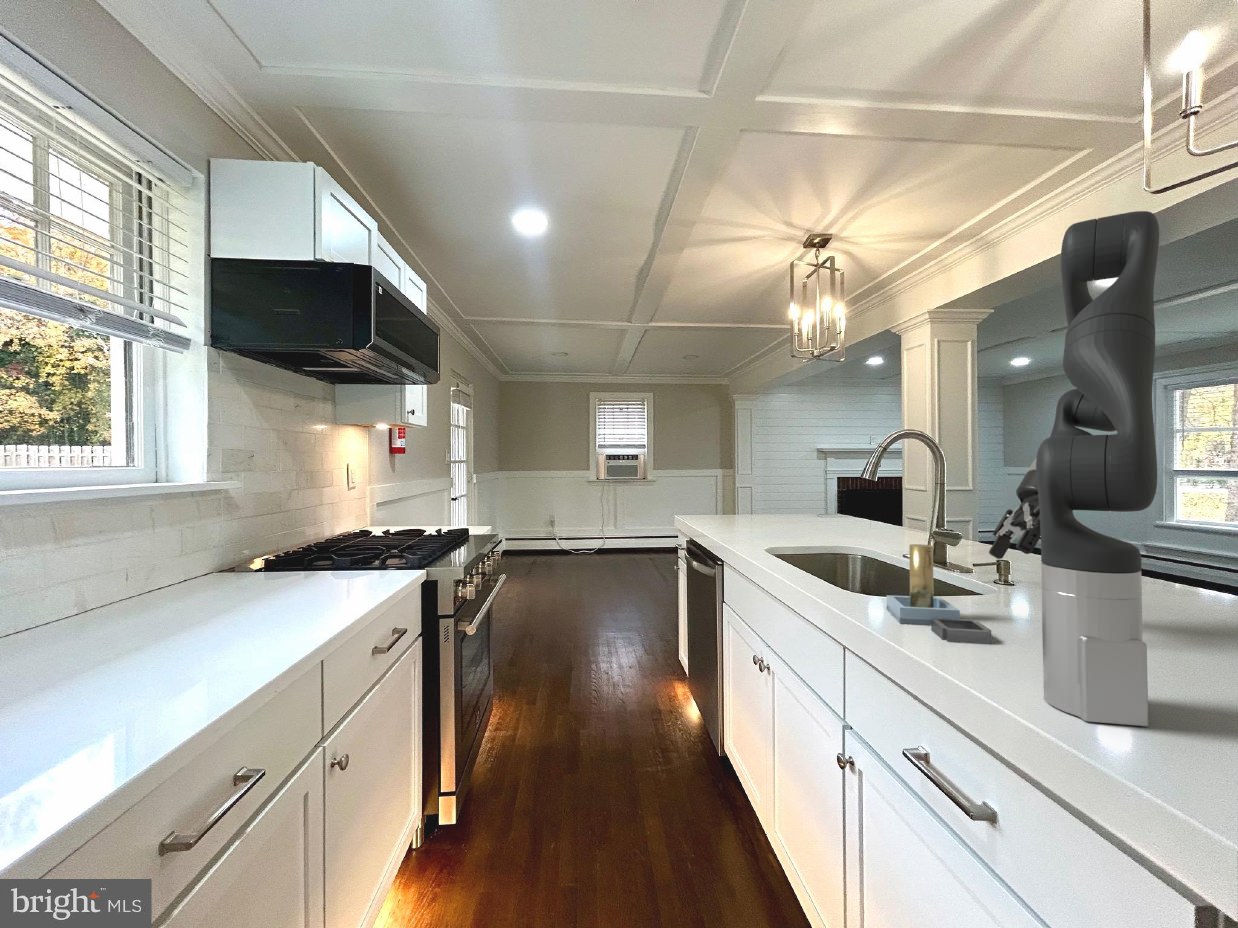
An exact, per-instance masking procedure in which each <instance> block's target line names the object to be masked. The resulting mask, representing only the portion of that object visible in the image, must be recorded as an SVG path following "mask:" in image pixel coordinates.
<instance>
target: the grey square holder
mask: <svg viewBox="0 0 1238 928" xmlns="http://www.w3.org/2000/svg"><path fill="white" fill-rule="evenodd" d="M930 626H931V631H932V633H934V634H935V635H936V636H937V637H939V639H941V640H944V641H946V642H948V643H951V642H952V643H963V644H964V643H966V644H968V643H969V644H980V645H982V644H983V645H991V644H992V629H990V628H988V627H987V626H986V625H984V624H983V623H981V622H979V620H978V621H977V620H974V619H968V618H967V619H966V618H964V619H963V618H960V619H949V618H933V619H931V625H930Z"/></svg>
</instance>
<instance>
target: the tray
mask: <svg viewBox="0 0 1238 928" xmlns="http://www.w3.org/2000/svg"><path fill="white" fill-rule="evenodd" d="M887 610H888V611H887ZM886 611H887V612H888V613H889V612H890V613H891V614H890V613H889V614H890V615H891V616H892V617H893V618H894V619H895V620H896V622H898V623H899V624H900V625H919V626H921V625H922V626H931V619H933V618H949V619H961V615H960V614H961V610H960V609H959V608H957V607H955V606H954V605H952V604H951V603H950V602H948V601H946V600H945V599H944V598H942V597H937V596H935V597H934V608H925V607H910V595H892V594H891V595H888V594H887V595H886Z"/></svg>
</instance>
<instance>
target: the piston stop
mask: <svg viewBox="0 0 1238 928" xmlns="http://www.w3.org/2000/svg"><path fill="white" fill-rule="evenodd" d="M908 549H909V551H908V552H909V596H910V607H925V608H934V593H935V591H934V546H933V545H931V544H930V545H929V544H921V543H920V544H917V543H916V544H914V543H913V544H909V547H908Z"/></svg>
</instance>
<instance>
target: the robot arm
mask: <svg viewBox="0 0 1238 928" xmlns="http://www.w3.org/2000/svg"><path fill="white" fill-rule="evenodd" d="M1159 246H1160V226H1159V221H1158V218H1157V217H1156V215H1155V214H1154V213H1153V212H1152V211H1148V210H1146V211H1145V210H1140V211H1139V210H1136V211H1129V212H1125V213H1124V212H1123V213H1118V214H1114V215H1107V216H1103V217H1098V218H1092V219H1088V220H1087V219H1086V220H1082V221H1078V222H1075V223H1072V224H1071V225H1070V226H1068V228H1066V231H1065V233H1064V235H1063V238H1062V244H1061V250H1060V251H1061V252H1060V272H1061V284H1062V286H1061V287H1062V291H1063V292H1062V293H1063V294H1062V295H1063V303H1064V310H1065V316H1066V317H1065V318H1066V322H1067V329H1066V333H1065V339H1064V348H1063V356H1062V357H1063V358H1062V368H1063V371H1064V374H1065V377H1066V378H1067V379H1068V380H1069V382H1070V383H1071V385H1072V386H1073V387H1074V389H1070V390H1068V391H1066V392H1064V393H1063V394H1062V395H1061V396H1060V397H1059V399H1058V401H1057V404H1056V410H1055V417H1054V422H1053V427H1052V430H1051V433H1050V436H1049V437H1048V438H1045V439H1044V440H1042V442H1041V443H1040V444H1039V447H1038V450H1037V453H1036V458H1035V459H1034V460H1033V462H1032V463H1031V465H1030V466H1029V468H1028V470H1027V471H1026V473H1025V475H1024V477H1023V478H1022V480H1021V482H1020V483H1019V485H1018V486H1017V489H1016V490H1015V494H1016V497H1017V498H1018V499H1019V500H1020V504H1018V505H1017V506H1016V507H1014V509H1013V510H1012V509H1010V508H1009V509H1007V510H1006V511H1005V513H1004V515H1003V516H1002V518H1001V520H1000V521H999V523H998V524H997V526H996V527H995V529H994V530H993V532H992V535H993V536H994V537H996V538H995V540H994V542H993V543H992V545H991V547H990V548H989V551H988V553H989V555H990V556H992V557H994V558H995V559H997V560H1000V559H1003V558H1004V556H1005V555H1006V553H1007V551H1008V550H1009V547H1010V546H1011V545H1012V543H1013V541H1015V540H1016V539H1017V538H1018V537H1020V538H1019V540H1018V542H1017V543H1016V545H1015V548H1016V549H1017V550H1018V551H1020V552H1021V553H1024V554H1025V555H1029V554H1031V553H1032V552H1033V551H1034V550H1035V547H1036V545H1037V544H1038V542H1039V541H1040V556H1041V557H1040V559H1041V560H1040V561H1041V565H1040V566H1041V567H1040V568H1041V569H1040V570H1041V571H1040V572H1041V577H1040V578H1041V587H1040V588H1041V623H1042V624H1041V626H1042V627H1041V632H1042V633H1041V634H1042V640H1041V641H1042V667H1043V669H1042V671H1043V672H1042V673H1043V674H1042V676H1043V677H1042V678H1043V700H1045V702H1047V703H1048V704H1049V705H1050V706H1052V707H1054V708H1055V709H1058V710H1059V711H1063V712H1065V713H1067V714H1070V715H1072V716H1076V717H1078V718H1080V719H1082V720H1083V721H1085V722H1090V723H1101V724H1102V723H1104V724H1113V725H1114V724H1116V725H1126V726H1127V725H1128V726H1139V727H1149V693H1148V692H1149V690H1148V689H1149V688H1148V683H1149V682H1148V646H1147V644H1146V642H1145V641H1144V640H1143V634H1144V633H1143V600H1142V597H1143V593H1142V592H1143V591H1142V588H1143V587H1142V585H1143V584H1142V554H1141V551H1140V549H1139V548H1138V547H1137V546H1136V545H1134V544H1132V543H1129V542H1128V541H1124V540H1121V539H1117V538H1114V537H1111V536H1107V535H1105V534H1103V533H1100V532H1098V531H1096V530H1093V529H1091V528H1089V527H1088V526H1086V525H1084V524H1082V522H1080V521H1079V520H1078V519H1076V517H1075V515H1074V513H1073V512H1074V511H1089V512H1090V511H1095V512H1096V511H1097V512H1117V513H1119V512H1120V513H1121V512H1141V511H1143V510H1146V509H1148V508H1149V507H1150V506H1151V505H1152V503H1153V502H1154V499H1155V496H1156V493H1157V488H1158V458H1157V457H1158V456H1157V447H1156V446H1157V445H1156V437H1155V436H1156V435H1155V424H1154V423H1155V422H1154V409H1153V383H1154V381H1153V380H1154V367H1155V366H1154V365H1155V357H1156V324H1155V323H1156V321H1155V301H1154V300H1155V299H1154V290H1155V289H1154V288H1155V279H1156V273H1157V272H1156V269H1157V262H1158V256H1159V255H1158V254H1159ZM1108 279H1109V280H1110V279H1116V280H1115V282H1113V283H1112V284H1111V285H1110V286H1109V287H1108V288H1107V289H1105V290H1104V291H1102V292H1101V293H1100V294H1099V295H1098V296H1097V297H1095V298H1094V299H1093V298H1092V296H1091V294H1090V291H1089V288H1088V282H1093V281H1101V280H1102V281H1103V280H1108ZM1084 429H1090V430H1094V431H1099V432H1107V433H1109V432H1110V433H1111V432H1117V433H1114V434H1093V433H1090V432H1089V431H1087V430H1084Z"/></svg>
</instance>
